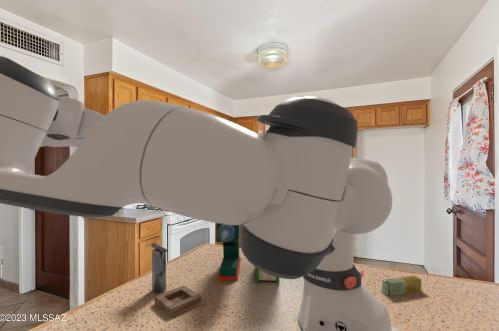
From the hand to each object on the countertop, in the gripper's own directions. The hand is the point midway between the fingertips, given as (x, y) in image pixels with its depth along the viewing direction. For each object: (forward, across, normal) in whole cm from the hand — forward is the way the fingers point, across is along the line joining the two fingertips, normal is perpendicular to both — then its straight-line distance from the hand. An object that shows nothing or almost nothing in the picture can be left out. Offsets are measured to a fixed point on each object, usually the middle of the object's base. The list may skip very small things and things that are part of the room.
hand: (105, 145), depth 59 cm
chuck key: (+31, -4, -35) cm, 47 cm away
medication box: (+56, +64, -29) cm, 90 cm away
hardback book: (+55, +22, -29) cm, 66 cm away
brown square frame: (+27, +6, -36) cm, 46 cm away
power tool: (+47, +12, -31) cm, 58 cm away
